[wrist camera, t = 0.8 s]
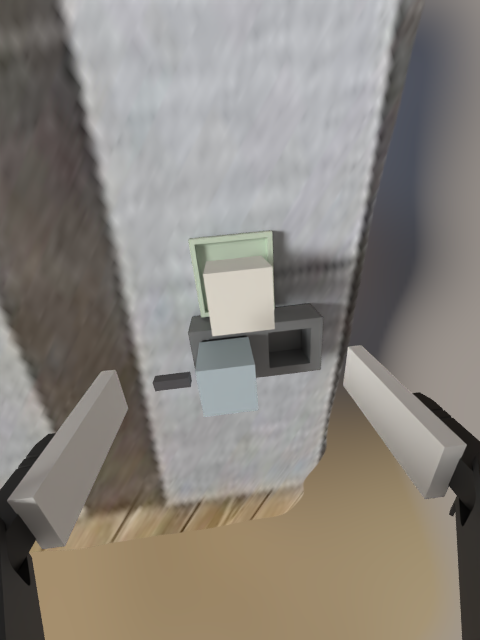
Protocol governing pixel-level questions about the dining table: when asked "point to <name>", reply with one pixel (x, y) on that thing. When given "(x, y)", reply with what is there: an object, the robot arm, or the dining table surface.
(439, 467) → the robot arm
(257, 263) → the plug
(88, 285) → the dining table surface
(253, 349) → the strip
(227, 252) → the tray
